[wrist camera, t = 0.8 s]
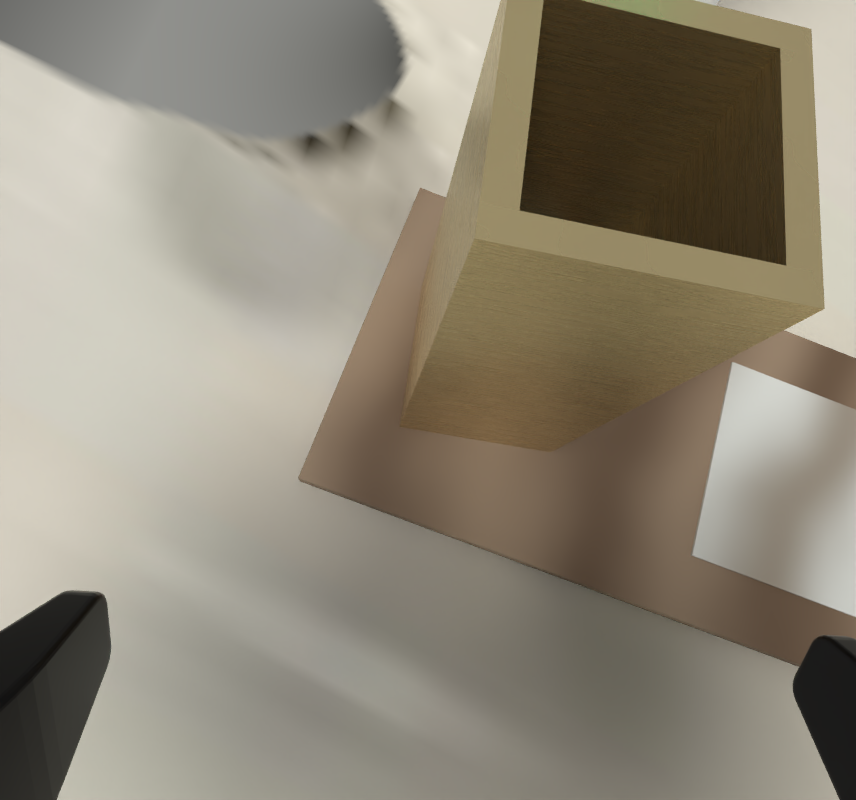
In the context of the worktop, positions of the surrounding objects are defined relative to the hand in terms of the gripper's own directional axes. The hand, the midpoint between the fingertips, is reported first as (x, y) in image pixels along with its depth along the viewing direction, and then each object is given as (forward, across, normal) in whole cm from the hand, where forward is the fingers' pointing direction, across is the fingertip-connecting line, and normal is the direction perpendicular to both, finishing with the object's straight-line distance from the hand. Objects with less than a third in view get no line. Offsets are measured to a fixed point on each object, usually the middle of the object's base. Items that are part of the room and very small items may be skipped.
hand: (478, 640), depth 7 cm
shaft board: (+14, -9, +3) cm, 17 cm away
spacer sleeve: (+14, -2, +1) cm, 15 cm away
